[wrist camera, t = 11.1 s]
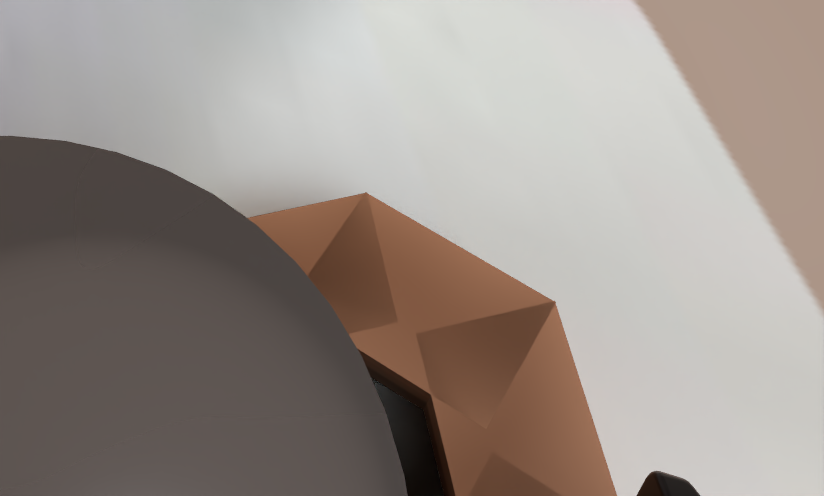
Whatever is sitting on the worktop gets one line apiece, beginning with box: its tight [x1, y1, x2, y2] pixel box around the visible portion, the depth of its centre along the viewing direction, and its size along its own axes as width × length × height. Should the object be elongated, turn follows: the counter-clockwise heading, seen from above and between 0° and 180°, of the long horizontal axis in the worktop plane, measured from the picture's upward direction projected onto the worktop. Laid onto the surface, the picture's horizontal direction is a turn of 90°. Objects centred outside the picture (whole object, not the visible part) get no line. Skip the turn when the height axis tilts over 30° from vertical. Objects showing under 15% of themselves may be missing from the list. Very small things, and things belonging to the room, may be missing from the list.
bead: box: [247, 192, 617, 496], centre depth 13 cm, size 11×11×4 cm
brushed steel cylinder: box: [0, 136, 408, 496], centre depth 9 cm, size 4×4×14 cm
